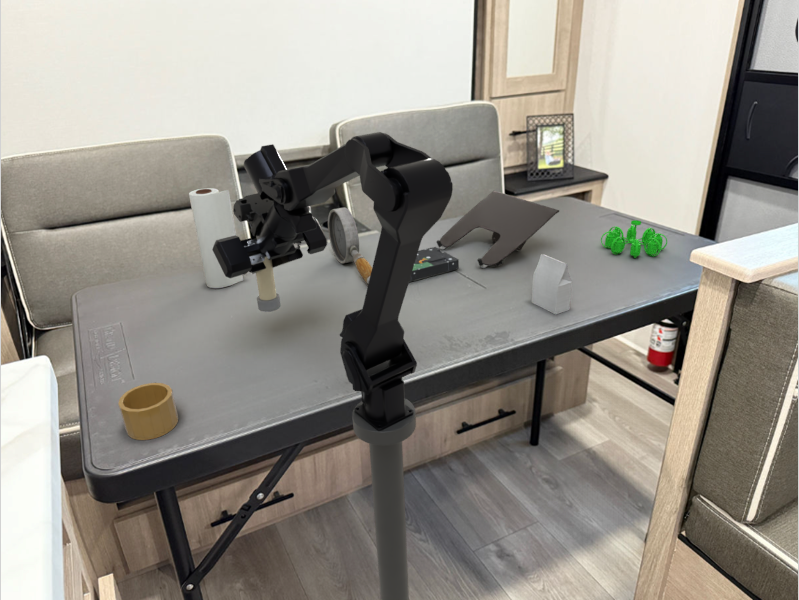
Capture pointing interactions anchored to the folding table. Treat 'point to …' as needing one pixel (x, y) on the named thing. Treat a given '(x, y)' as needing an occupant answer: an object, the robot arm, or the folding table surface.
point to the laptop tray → (500, 225)
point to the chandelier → (634, 240)
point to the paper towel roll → (213, 231)
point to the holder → (148, 411)
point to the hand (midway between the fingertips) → (260, 268)
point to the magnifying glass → (346, 240)
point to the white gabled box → (552, 285)
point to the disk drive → (432, 263)
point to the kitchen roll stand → (267, 289)
